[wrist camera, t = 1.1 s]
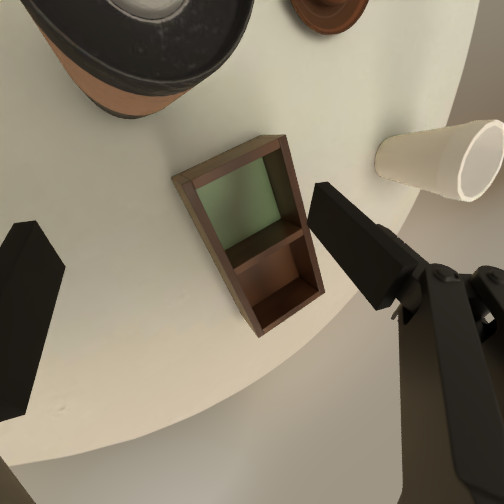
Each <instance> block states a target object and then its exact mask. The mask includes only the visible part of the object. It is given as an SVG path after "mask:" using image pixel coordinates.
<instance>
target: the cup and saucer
mask: <svg viewBox="0 0 504 504" xmlns="http://www.w3.org/2000/svg"><path fill="white" fill-rule="evenodd" d="M368 1H369V0H291V2H292V4H293V6H294V8H295V10H296V12H297V13H298V15H299V16H300V18H301V19H302V20H303V21H304V22H305V23H306V24H307V25H308V26H309V27H310V28H311V29H313V30H315V31H316V32H319V33H322V34H327V35H333V34H339V33H342V32H344V31H346V30H348V29H349V28H350V27H352V26H353V25H354V24H355V23H356V22H357V20H358V19H359V18H360V16H361V15H362V13H363V12H364V10H365V8H366V6H367V3H368Z"/></svg>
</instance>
